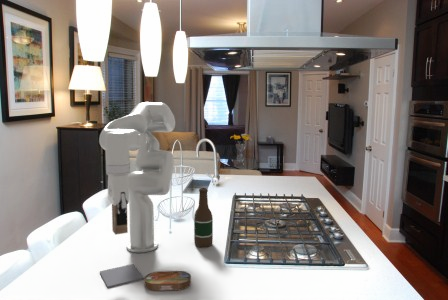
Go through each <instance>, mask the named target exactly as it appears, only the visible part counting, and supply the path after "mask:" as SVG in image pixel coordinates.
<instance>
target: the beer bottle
mask: <svg viewBox="0 0 448 300" xmlns="http://www.w3.org/2000/svg"><path fill="white" fill-rule="evenodd" d="M198 192H199V195H198V206H197V208H196V209H195V212H194V215H193V216H194V217H193V223H194V224H193V225H194V226H193V227H194V229H193V233H194V235H193V238H194V240H193V241H194V245H195V246H196V247H197V248H201V249H203V248H210V247H211V246H212V245H213V242H214V241H213V238H214V237H213V235H214V234H213V233H214V232H213V231H214V229H213V223H214V222H213V221H214V220H213V214H212V211H211V210H210V208H209V200H208V188H207V187H201V188H199V189H198Z"/></svg>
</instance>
